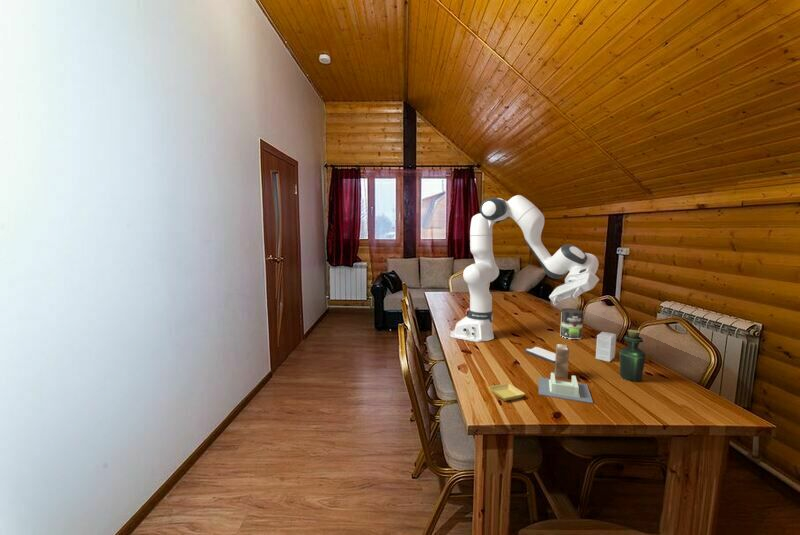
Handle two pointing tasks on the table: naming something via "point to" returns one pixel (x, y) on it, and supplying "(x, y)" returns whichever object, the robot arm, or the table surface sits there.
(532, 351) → the smartphone
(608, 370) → the table surface
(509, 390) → the yellow square tray
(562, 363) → the tall wooden pillar
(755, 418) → the table surface
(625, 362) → the potion bottle
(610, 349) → the small box
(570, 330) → the coffee can
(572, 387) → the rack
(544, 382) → the mat
